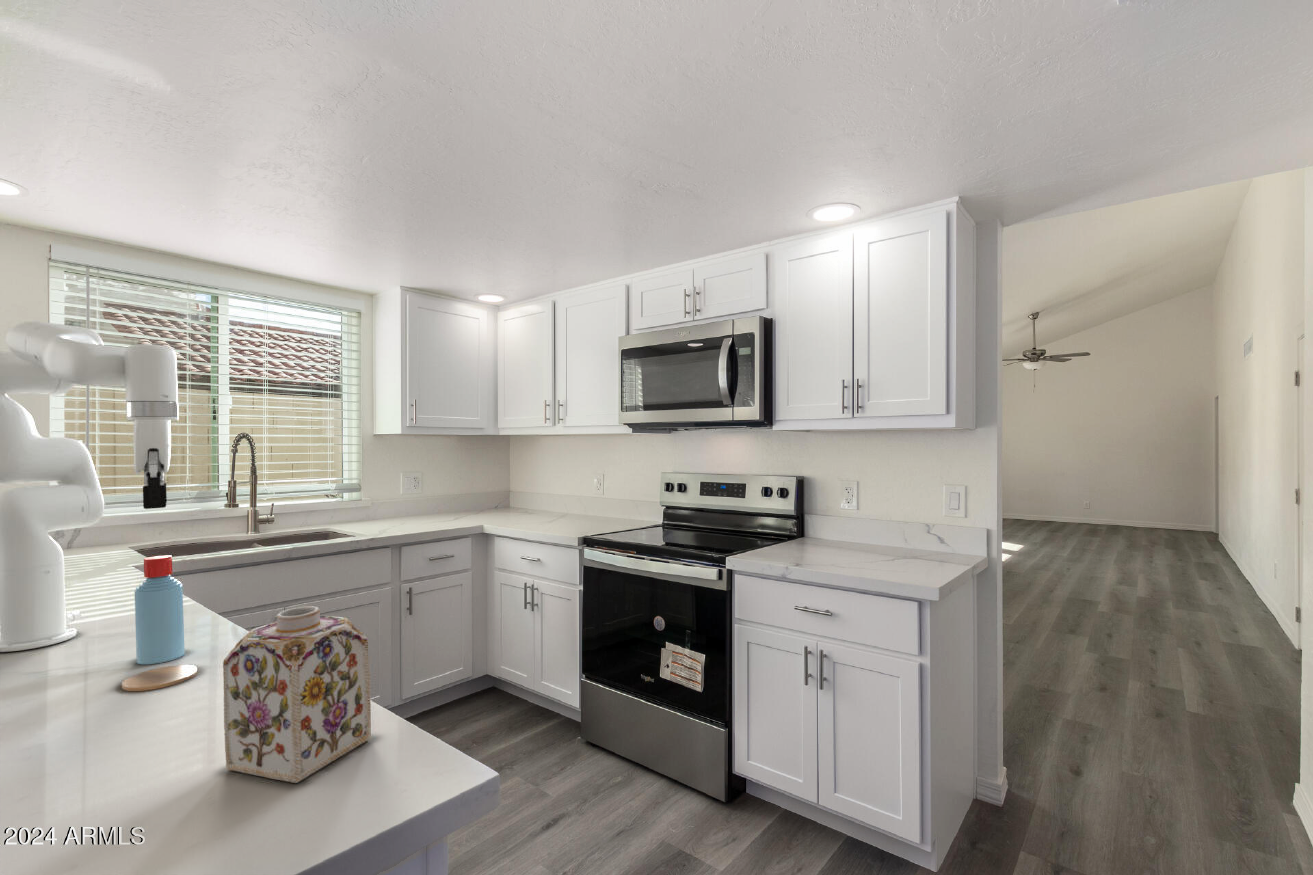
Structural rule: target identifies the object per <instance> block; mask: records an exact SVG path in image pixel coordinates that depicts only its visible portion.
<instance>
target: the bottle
mask: <svg viewBox="0 0 1313 875" xmlns="http://www.w3.org/2000/svg"><path fill="white" fill-rule="evenodd" d="M138 585H139V586H137V587H136V588H135V590H134V591H133V592H134V620H135V622H134V624H135V625H134V626H135V652H136V654H135V655H136V664H138V665H156V664H161V663H162V664H163V663H166V662H170V661H174V660H176V659H179V658H181V657H183V656H184V655H185V654H186V653H185V650H186V649H185V624H184V623H185V620H184V591H183V590H184V588H183V587H184V585H183V584H182V582H181V581H180V580H178V579H176V578H175V577H174V576H172V574H171V575H167V576H162V577H153V578H146V577H145V580H143V581H142V582H141V583H139V584H138Z"/></svg>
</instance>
